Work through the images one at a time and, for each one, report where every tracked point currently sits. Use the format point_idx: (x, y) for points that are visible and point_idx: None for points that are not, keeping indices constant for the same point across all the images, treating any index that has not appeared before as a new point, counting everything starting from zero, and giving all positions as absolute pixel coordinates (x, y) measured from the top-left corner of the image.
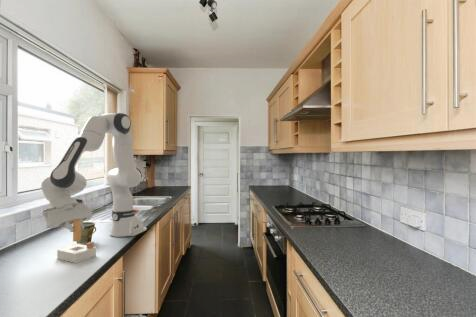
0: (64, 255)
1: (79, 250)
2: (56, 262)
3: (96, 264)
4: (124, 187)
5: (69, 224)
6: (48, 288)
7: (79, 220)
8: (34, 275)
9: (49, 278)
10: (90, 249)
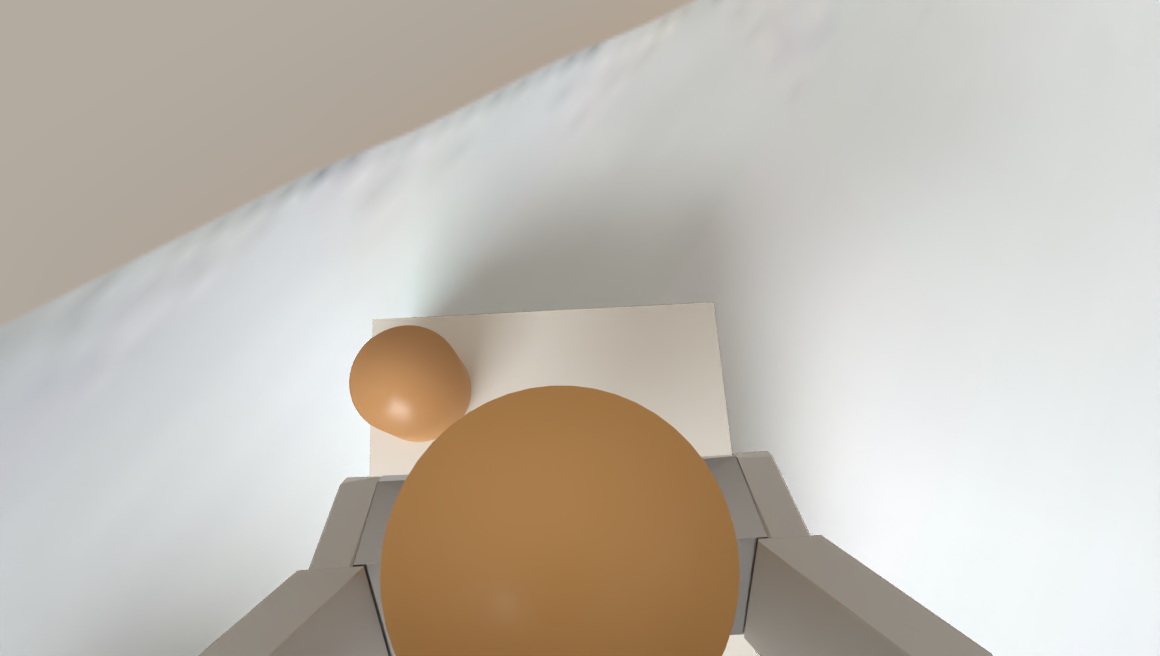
0: None
1: None
2: None
3: (591, 122)
4: None
5: (876, 628)
6: (1124, 31)
7: (480, 500)
8: (1117, 398)
9: (1045, 201)
10: (477, 314)
